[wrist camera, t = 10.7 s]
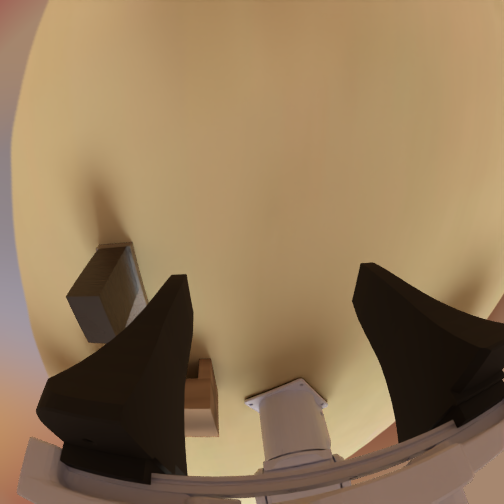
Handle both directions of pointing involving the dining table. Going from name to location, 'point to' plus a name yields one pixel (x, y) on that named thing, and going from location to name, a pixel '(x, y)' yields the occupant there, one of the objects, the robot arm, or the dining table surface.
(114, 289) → the brown-topped white block
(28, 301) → the dining table surface
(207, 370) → the walnut u-shaped block
